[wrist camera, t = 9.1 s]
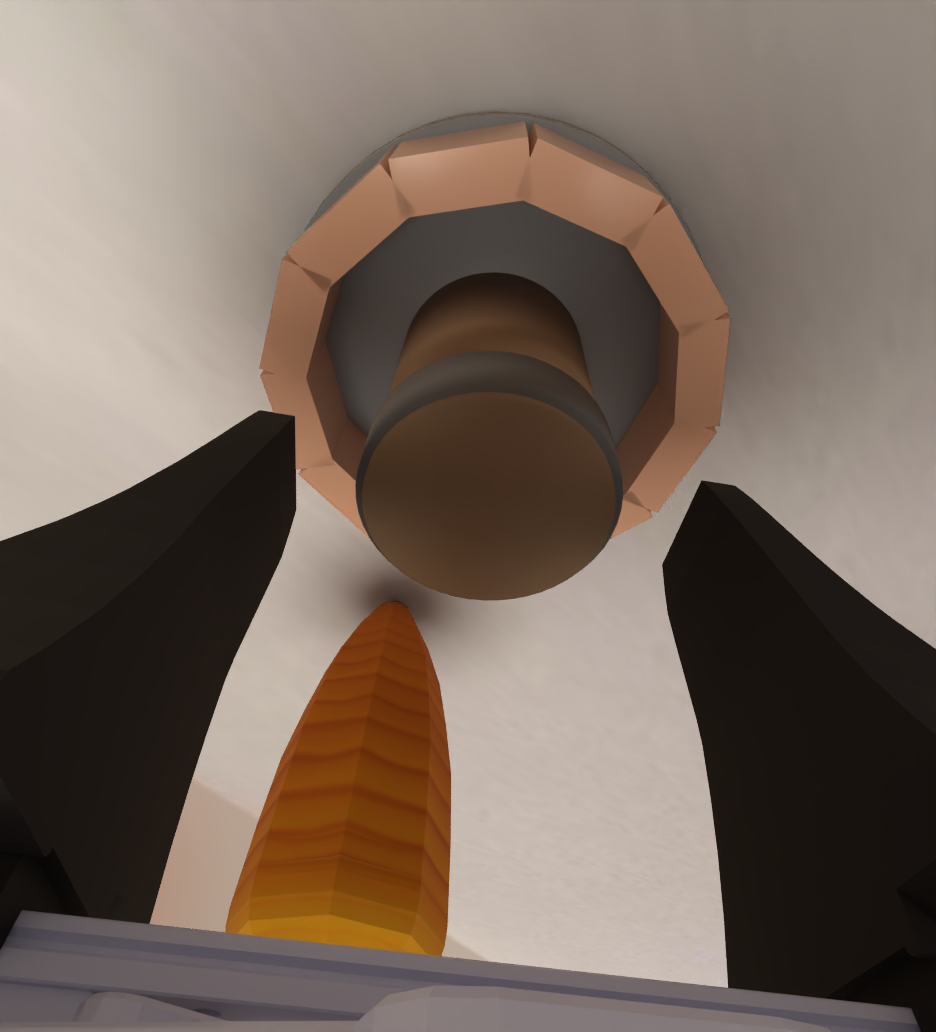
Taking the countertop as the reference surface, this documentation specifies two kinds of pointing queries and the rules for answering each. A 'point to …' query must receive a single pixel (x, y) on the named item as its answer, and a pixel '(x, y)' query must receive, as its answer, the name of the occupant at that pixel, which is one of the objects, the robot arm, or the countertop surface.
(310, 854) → the carrot
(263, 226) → the countertop surface
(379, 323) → the coaster
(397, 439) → the walnut pepper mill
